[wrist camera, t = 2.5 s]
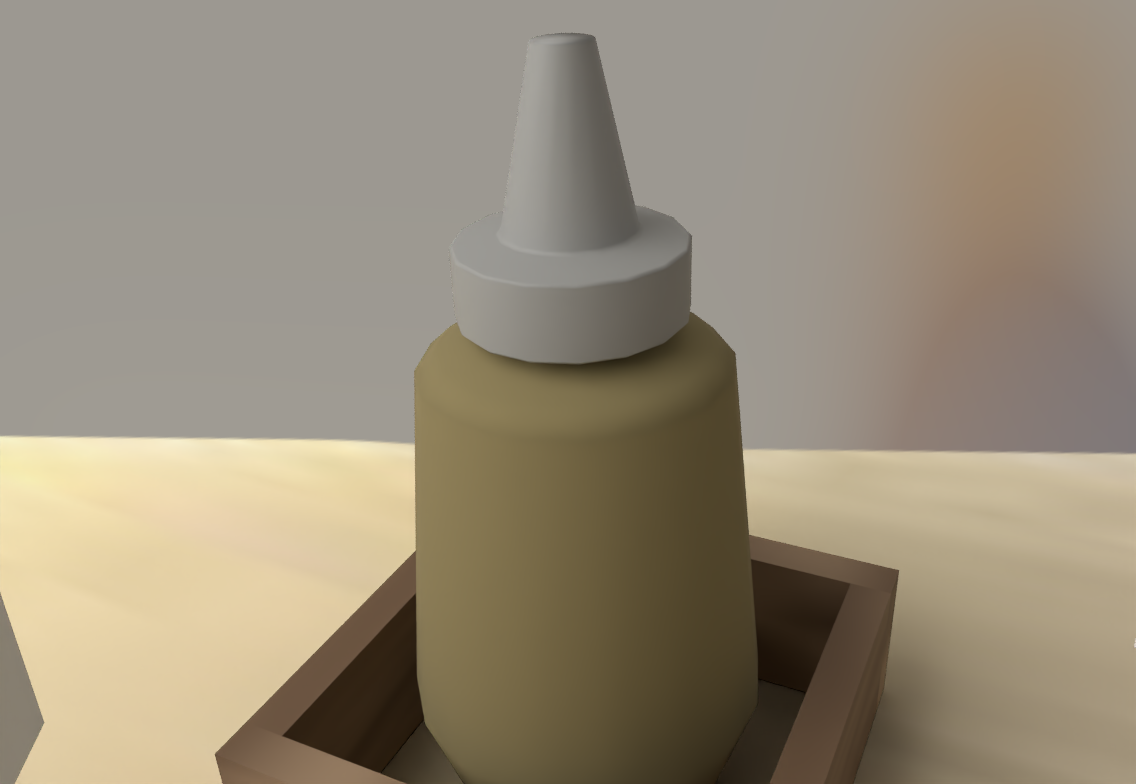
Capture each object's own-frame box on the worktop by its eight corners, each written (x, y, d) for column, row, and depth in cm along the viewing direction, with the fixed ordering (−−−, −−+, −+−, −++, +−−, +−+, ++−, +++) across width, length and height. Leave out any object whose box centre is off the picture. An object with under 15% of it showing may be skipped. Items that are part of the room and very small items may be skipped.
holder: (883, 688, 30) (898, 570, 28) (748, 1107, 20) (757, 972, 18) (500, 580, 35) (491, 474, 33) (248, 879, 25) (215, 753, 23)
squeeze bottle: (724, 656, 31) (748, -7, 23) (787, 907, 24) (855, 78, 16) (441, 674, 31) (358, 12, 22) (420, 932, 24) (286, 106, 15)
